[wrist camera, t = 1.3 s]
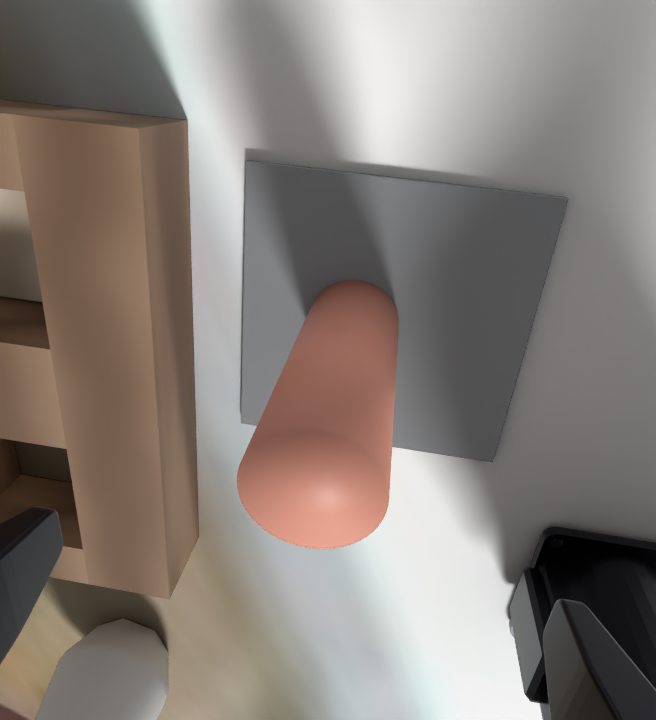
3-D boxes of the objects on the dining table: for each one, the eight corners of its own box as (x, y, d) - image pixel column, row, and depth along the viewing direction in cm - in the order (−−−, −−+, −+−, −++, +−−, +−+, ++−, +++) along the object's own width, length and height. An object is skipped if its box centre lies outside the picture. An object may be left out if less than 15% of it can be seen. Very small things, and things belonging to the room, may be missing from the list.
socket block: (187, 120, 17) (138, 128, 14) (198, 536, 26) (169, 599, 23) (-160, 81, 18) (-277, 81, 15) (-40, 495, 27) (-100, 549, 24)
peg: (405, 286, 18) (399, 441, 11) (391, 369, 20) (378, 560, 12) (312, 274, 19) (238, 416, 11) (305, 356, 20) (236, 535, 12)
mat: (565, 197, 17) (568, 199, 17) (491, 457, 21) (492, 462, 21) (248, 160, 18) (245, 161, 17) (243, 419, 22) (240, 423, 22)
